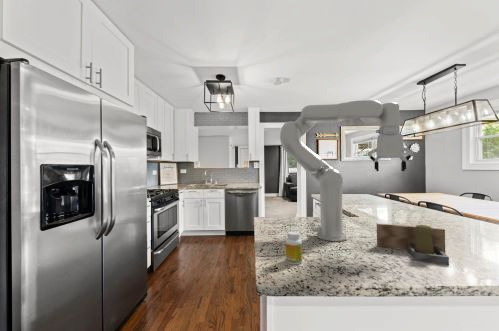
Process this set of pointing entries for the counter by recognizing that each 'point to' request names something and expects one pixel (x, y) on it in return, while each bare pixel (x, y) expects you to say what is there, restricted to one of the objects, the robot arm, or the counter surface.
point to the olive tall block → (424, 239)
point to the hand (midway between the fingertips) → (389, 171)
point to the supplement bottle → (293, 248)
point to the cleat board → (412, 242)
